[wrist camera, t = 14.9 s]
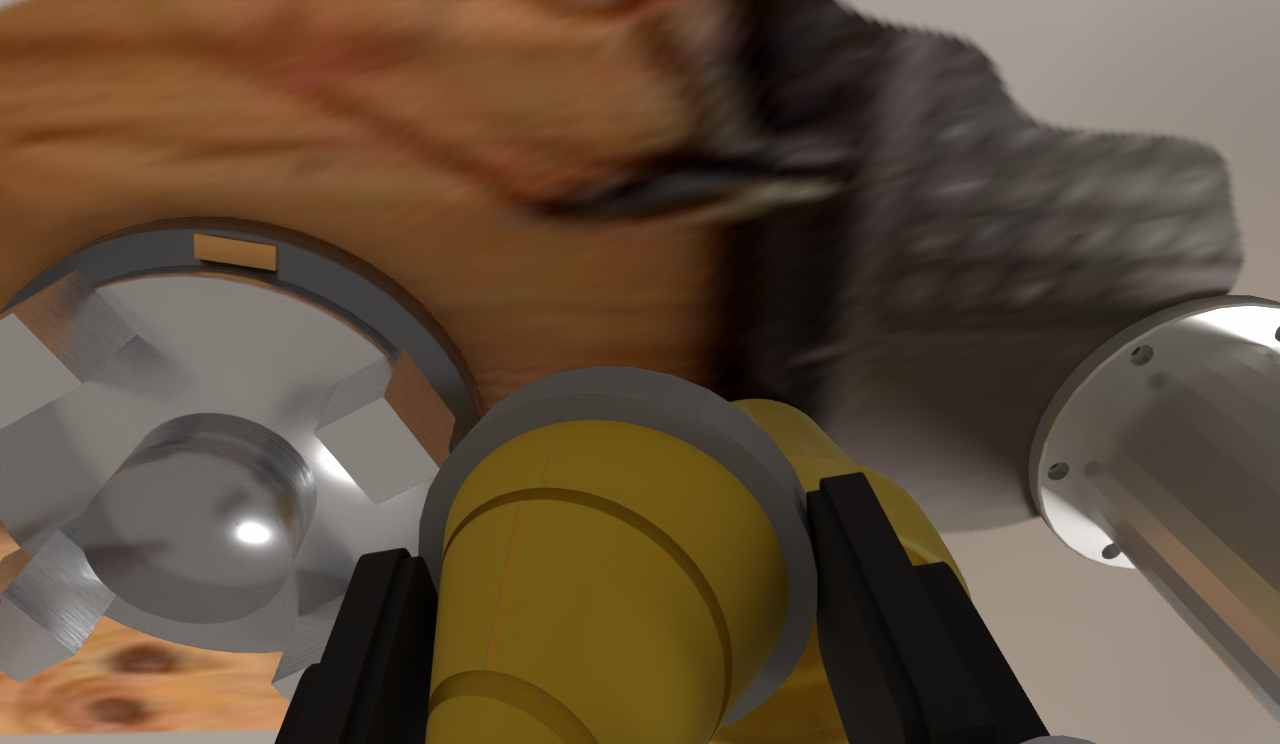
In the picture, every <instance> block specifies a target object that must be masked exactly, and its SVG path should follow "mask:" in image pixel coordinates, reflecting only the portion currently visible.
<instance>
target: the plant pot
mask: <svg viewBox="0 0 1280 744" xmlns="http://www.w3.org/2000/svg"><path fill="white" fill-rule="evenodd" d="M730 403H731V404H733V405H734V406H736V407H738V408H739V409H741V410H742V411H744V412H745V413H746V414H747V415H748V416H749V417H750V418H751V419H752V420H753V421H754V422H755V423H757V424H758V425H759V426H760V427H761V428H762V429H763V430H764V431H765V432H766V433H767V434H768V435H769V436H771V437H772V439H773V440H774V441H775V443H776V444H777V446H778V447H779V448H780V450H781V451H782V452H783V454H784V455H785V457H786V458H787V459H788V461H789V462H790V463H791V465H792V466H793V467H794V469H795V471H796V474H797V476H798V478H799V480H800V482H801V485H802V487H803V489H804V491H805V494H806V493H807V492H809V491H815V490H819V483H820V479H821V478H826V477H832V476H838V475H844V474H850V473H856V472H863V473H864V474H865V476H866V477H867V479H868V481H869V483H870V485H871V487H872V489H873V491H874V493H875V495H876V496H877V498H878V500H879V502H880V504H881V506H882V508H883V510H884V512H885V514H886V515H887V517H888V519H889V521H890V523H891V525H892V527H893V529H894V531H895V533H896V534H897V536H898V538H899V540H900V542H901V544H902V546H903V548H904V550H905V552H906V553H907V555H908V557H909V559H910V561H911V563H912V565H913V566H917V565H923V564H930V563H936V562H942V561H944V562H945V563H947V564H948V565H949V566H950V567H951V568H952V570H953V571H954V573H955V574H956V576H957V578H958V579H959V581H960V583H961V584H962V586H963V588H964V589H965V591H966V593H967V595H968V596H969V598H970V600H971V597H970V593H969V590H968V588H967V585H966V582H965V580H964V578H963V576H962V574H961V572H960V570H959V568H958V566H957V565H956V563H955V561H954V559H953V557H952V556H951V554H950V552H949V550H948V549H947V547H946V545H945V544H944V542H943V541H942V539H941V537H940V536H939V534H938V532H937V531H936V529H935V528H934V526H933V525H932V523H931V522H930V520H929V519H928V518H927V516H926V515H925V513H924V512H923V511H922V509H921V508H920V507H919V505H918V504H917V503H916V502H915V501H914V499H913V498H912V497H911V496H910V495H909V494H908V493H907V492H906V491H904V490H903V489H902V488H901V487H900V486H899V485H897V484H896V483H895V482H893V481H892V480H890V479H889V478H887V477H885V476H883V475H882V474H880V473H878V472H876V471H874V470H872V469H870V468H868V467H865V466H862V465H860V464H857V463H855V462H854V461H853V460H852V459H851V458H850V457H849V456H848V455H847V454H846V453H845V452H844V451H843V450H842V449H841V448H840V447H839V446H838V445H837V444H836V443H835V442H834V441H833V440H832V439H831V438H830V437H829V436H828V435H827V434H826V433H825V432H824V431H823V430H822V429H821V428H820V427H819V426H818V425H817V424H816V423H815V422H814V421H813V420H812V419H811V418H810V417H809V416H808V415H806V414H805V413H803V412H802V411H800V410H798V409H796V408H795V407H792V406H790V405H788V404H785V403H782V402H778V401H773V400H768V399H744V400H737V401H732V402H730ZM708 744H849V742H848V739H847V736H846V733H845V730H844V727H843V724H842V721H841V718H840V715H839V712H838V709H837V706H836V703H835V700H834V696H833V693H832V690H831V687H830V684H829V681H828V678H827V675H826V672H825V669H824V666H823V662H822V658H821V654H820V649H819V643H818V634H817V622H816V616H815V620H814V623H813V627H812V631H811V635H810V638H809V642H808V645H807V647H806V649H805V650H804V652H803V654H802V656H801V658H800V660H799V661H798V663H797V665H796V667H795V669H794V671H793V672H792V674H791V675H790V676H789V677H788V678H787V679H786V681H785V682H784V683H783V684H782V685H781V686H780V687H779V688H778V689H777V691H776V692H775V693H774V694H773V695H772V696H771V697H770V698H769V699H768V700H766V701H765V702H764V703H762V704H761V705H759V706H758V707H757V708H755V709H754V710H752V711H751V712H750V713H748V714H747V715H745V716H744V717H743V718H741V719H739V720H736V721H734V722H732V723H730V724H727V725H725V726H723V727H721V728H719V729H718V730H717V732H716V733H715V735H714V736H713V737H712V739H711V740H710V742H709V743H708Z"/></svg>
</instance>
